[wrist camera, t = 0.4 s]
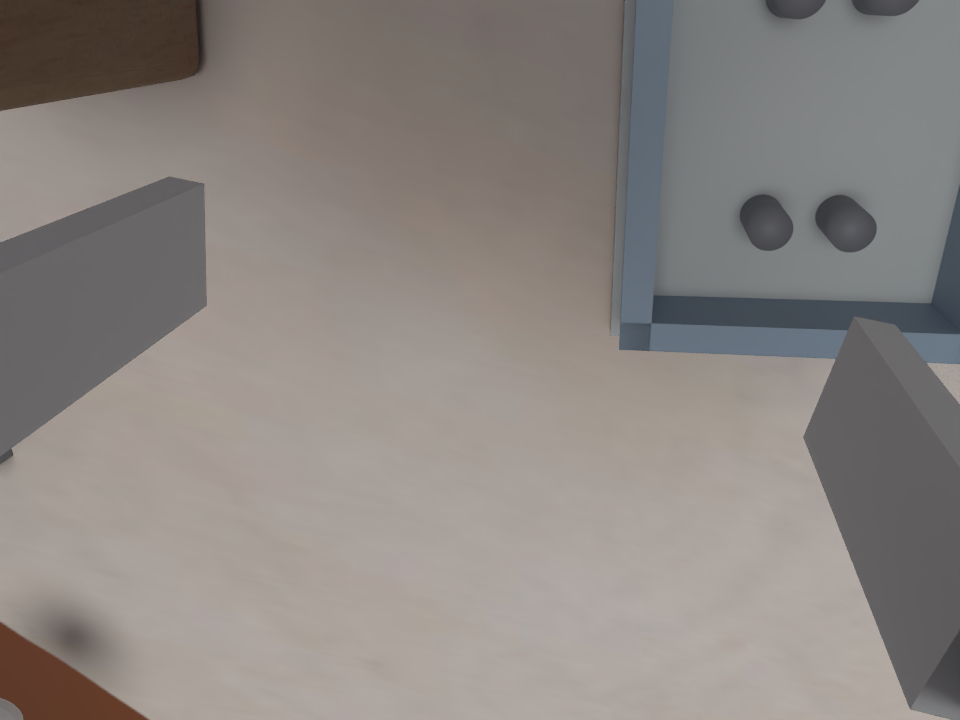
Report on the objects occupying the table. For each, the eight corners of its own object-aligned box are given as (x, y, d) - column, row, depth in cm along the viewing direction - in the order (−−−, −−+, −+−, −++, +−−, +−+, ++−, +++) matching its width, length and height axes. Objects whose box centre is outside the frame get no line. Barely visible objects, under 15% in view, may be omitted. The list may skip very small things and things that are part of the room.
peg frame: (632, -179, 32) (633, -208, 28) (1100, -217, 29) (1184, -256, 25) (610, 328, 43) (608, 366, 38) (954, 341, 39) (995, 385, 35)
